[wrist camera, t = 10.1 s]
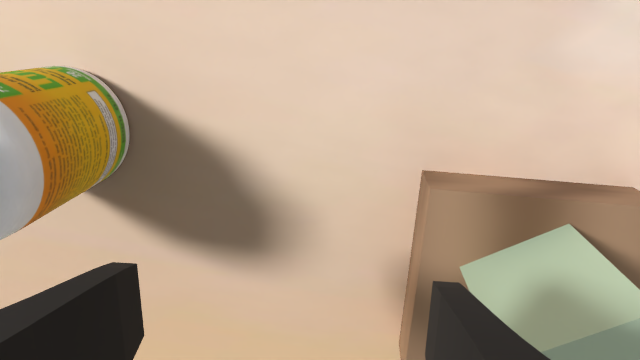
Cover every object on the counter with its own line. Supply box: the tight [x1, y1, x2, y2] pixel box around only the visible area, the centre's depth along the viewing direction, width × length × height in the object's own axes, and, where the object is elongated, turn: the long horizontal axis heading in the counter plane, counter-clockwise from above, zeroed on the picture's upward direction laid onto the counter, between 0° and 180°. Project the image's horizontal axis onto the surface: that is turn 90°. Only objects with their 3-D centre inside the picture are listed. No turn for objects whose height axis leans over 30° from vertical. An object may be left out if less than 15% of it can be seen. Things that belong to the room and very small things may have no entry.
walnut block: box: [399, 170, 640, 360], centre depth 21 cm, size 9×9×3 cm
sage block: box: [460, 224, 640, 360], centre depth 17 cm, size 4×4×6 cm
